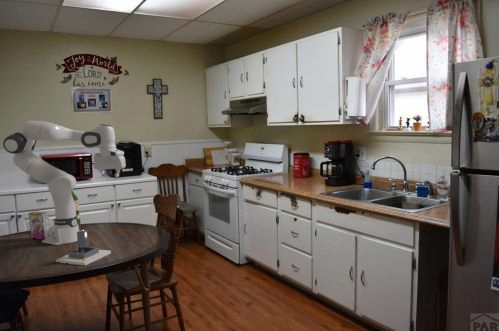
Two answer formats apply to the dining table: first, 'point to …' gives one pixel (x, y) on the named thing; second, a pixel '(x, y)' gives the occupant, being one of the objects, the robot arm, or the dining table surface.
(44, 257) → the dining table surface
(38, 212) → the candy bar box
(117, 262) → the dining table surface
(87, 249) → the battery cell
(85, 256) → the white board with tray
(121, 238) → the dining table surface
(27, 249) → the dining table surface
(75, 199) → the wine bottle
